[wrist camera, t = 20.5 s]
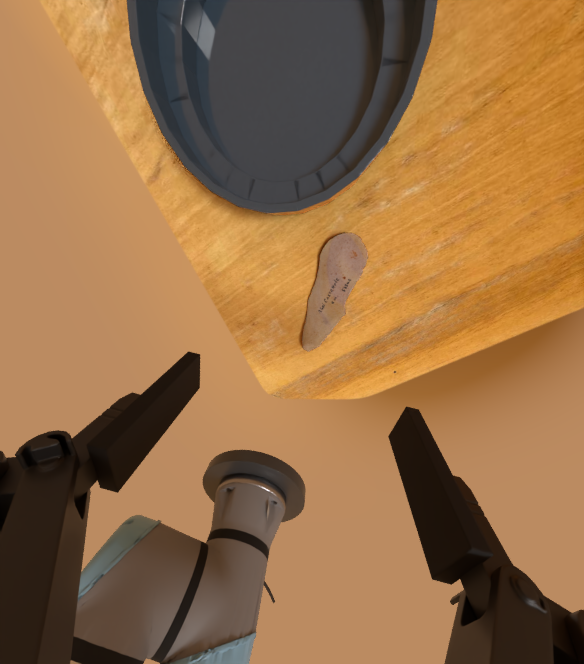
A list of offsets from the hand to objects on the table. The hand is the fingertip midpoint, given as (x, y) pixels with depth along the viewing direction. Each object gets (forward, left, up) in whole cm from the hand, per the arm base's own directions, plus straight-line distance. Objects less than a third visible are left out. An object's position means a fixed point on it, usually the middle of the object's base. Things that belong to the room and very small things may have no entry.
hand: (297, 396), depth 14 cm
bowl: (+20, +7, -16) cm, 26 cm away
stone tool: (+2, -1, -16) cm, 16 cm away
